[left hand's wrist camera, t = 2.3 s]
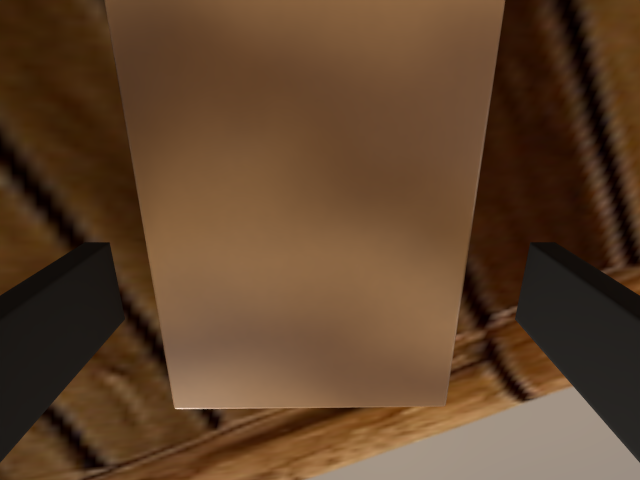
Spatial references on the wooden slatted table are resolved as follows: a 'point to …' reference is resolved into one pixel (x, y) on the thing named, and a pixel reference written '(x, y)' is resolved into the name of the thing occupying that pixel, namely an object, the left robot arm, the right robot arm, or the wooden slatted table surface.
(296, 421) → the wooden slatted table surface
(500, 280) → the wooden slatted table surface
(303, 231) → the box
